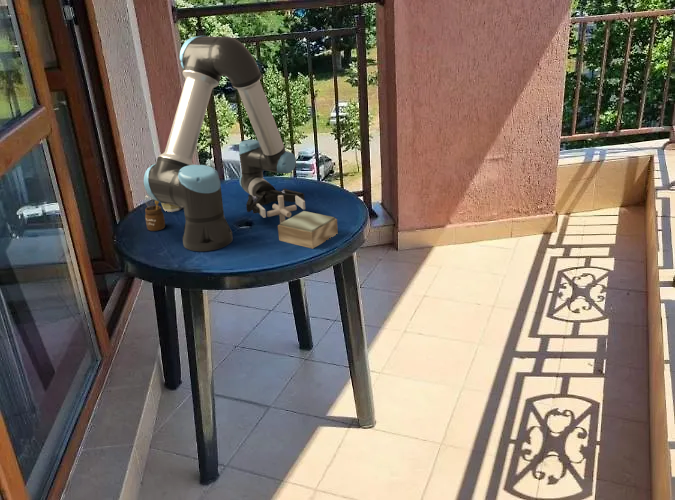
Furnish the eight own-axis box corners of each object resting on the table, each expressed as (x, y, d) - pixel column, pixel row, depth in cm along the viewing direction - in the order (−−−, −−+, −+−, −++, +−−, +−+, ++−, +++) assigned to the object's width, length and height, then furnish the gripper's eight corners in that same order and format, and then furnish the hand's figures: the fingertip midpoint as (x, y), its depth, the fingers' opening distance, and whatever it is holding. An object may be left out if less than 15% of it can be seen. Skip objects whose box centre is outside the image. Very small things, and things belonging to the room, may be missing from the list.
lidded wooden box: (312, 248, 190) (311, 231, 188) (279, 240, 197) (277, 223, 195) (337, 233, 200) (336, 217, 197) (304, 226, 207) (303, 210, 204)
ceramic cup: (153, 212, 225) (148, 185, 221) (168, 203, 234) (163, 176, 230) (186, 215, 222) (181, 187, 217) (199, 205, 230) (195, 178, 226)
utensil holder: (157, 223, 215) (151, 189, 211) (170, 226, 212) (164, 192, 207) (143, 229, 211) (137, 194, 206) (155, 232, 208) (149, 197, 203)
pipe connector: (276, 233, 202) (273, 203, 198) (262, 224, 210) (259, 195, 206) (303, 226, 207) (301, 196, 203) (289, 217, 215) (287, 189, 211)
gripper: (296, 194, 229) (320, 212, 211) (229, 208, 219) (248, 228, 202) (294, 174, 226) (319, 191, 208) (226, 187, 216) (246, 205, 199)
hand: (284, 209), depth 205 cm, fingers open, 13 cm apart
